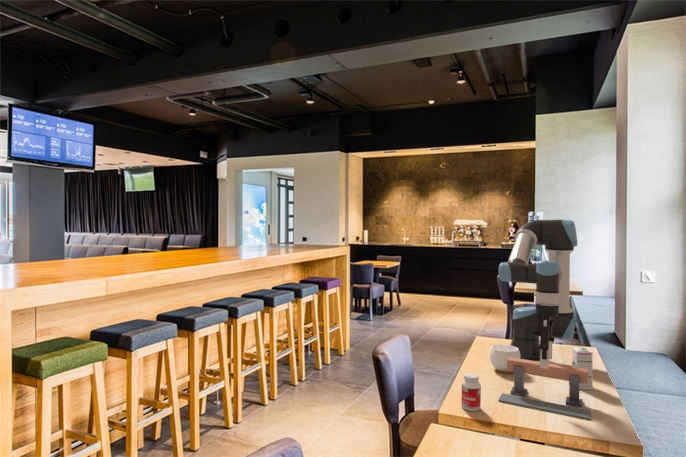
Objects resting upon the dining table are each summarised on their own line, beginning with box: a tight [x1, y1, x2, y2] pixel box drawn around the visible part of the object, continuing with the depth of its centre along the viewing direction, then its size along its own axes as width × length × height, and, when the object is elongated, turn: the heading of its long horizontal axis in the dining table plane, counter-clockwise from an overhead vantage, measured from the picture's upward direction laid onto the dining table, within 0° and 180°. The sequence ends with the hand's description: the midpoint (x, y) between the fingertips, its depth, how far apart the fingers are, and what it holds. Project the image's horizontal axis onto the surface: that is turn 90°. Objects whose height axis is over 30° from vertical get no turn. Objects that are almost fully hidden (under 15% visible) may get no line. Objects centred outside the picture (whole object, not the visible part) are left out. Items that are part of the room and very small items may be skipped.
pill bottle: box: [461, 372, 482, 412], centre depth 146 cm, size 6×6×11 cm
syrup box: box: [571, 346, 594, 391], centre depth 166 cm, size 6×6×14 cm
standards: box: [510, 365, 583, 409], centre depth 155 cm, size 7×23×11 cm, turn 60°
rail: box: [507, 357, 588, 384], centre depth 155 cm, size 4×26×4 cm, turn 60°
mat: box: [498, 392, 592, 421], centre depth 147 cm, size 7×28×1 cm, turn 60°
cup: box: [489, 343, 520, 374], centre depth 184 cm, size 12×12×10 cm
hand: (546, 363), depth 155 cm, fingers open, 13 cm apart
